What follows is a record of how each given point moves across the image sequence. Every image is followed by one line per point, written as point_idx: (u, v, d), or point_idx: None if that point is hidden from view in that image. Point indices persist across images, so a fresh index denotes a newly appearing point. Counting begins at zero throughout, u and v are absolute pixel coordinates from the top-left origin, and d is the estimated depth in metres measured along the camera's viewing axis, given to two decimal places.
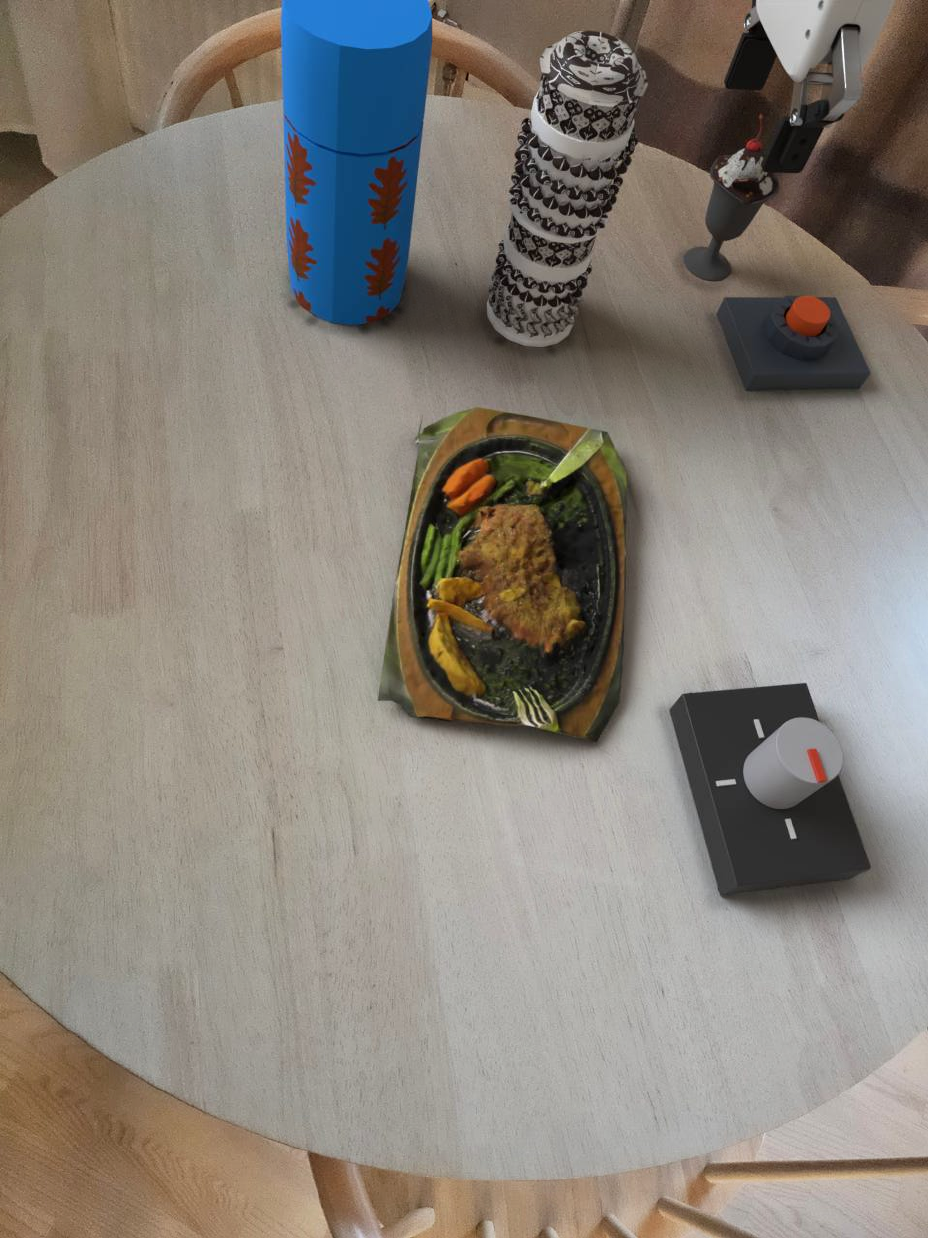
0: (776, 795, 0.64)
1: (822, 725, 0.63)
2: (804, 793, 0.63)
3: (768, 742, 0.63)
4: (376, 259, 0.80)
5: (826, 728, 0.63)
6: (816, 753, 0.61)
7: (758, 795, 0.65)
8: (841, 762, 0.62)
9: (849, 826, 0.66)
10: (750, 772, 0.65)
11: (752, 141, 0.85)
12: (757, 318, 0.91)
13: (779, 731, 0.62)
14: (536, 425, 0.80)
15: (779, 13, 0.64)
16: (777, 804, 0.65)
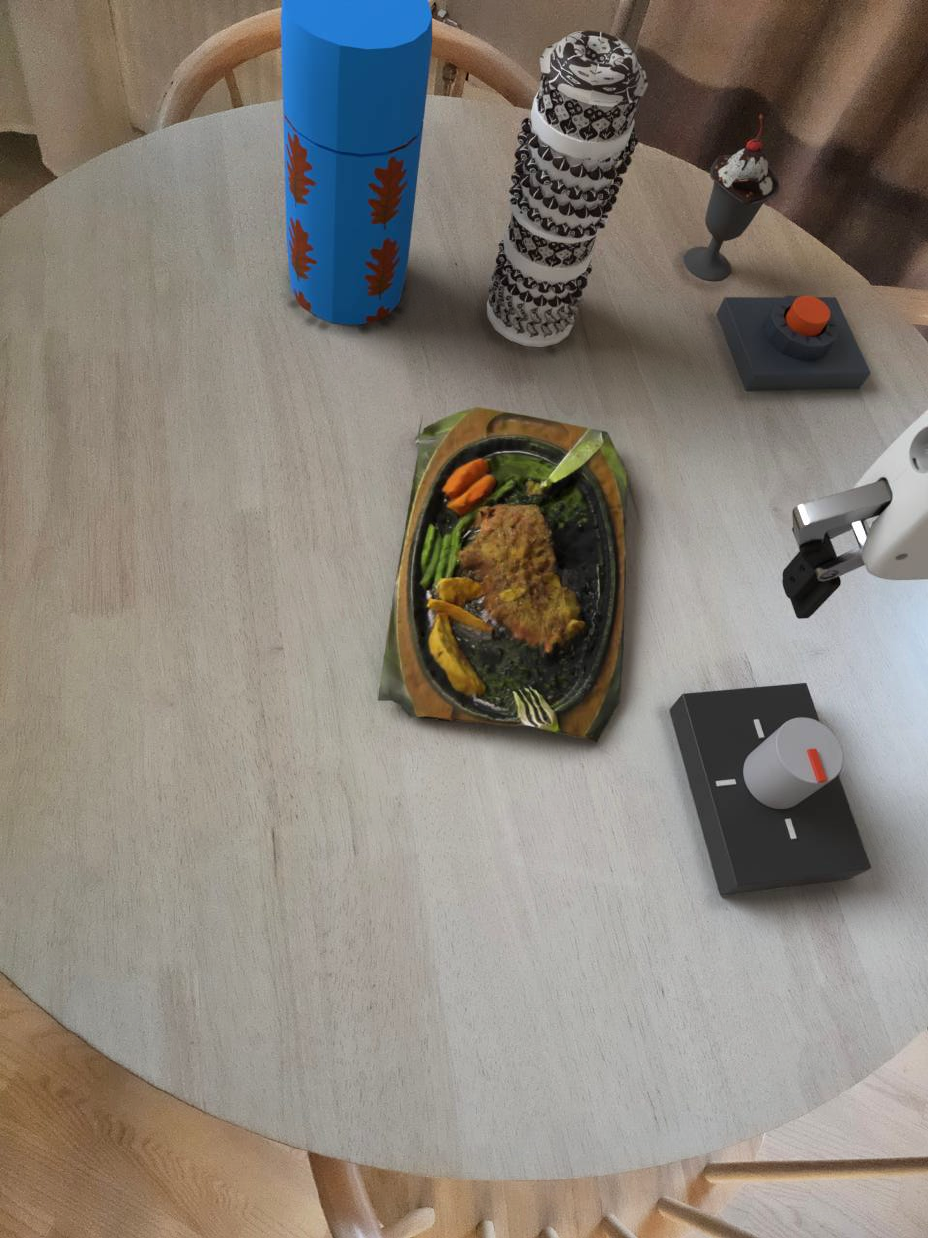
0: (776, 795, 0.64)
1: (822, 725, 0.63)
2: (804, 793, 0.63)
3: (768, 742, 0.63)
4: (376, 259, 0.80)
5: (826, 728, 0.63)
6: (816, 753, 0.61)
7: (758, 795, 0.65)
8: (841, 762, 0.62)
9: (849, 826, 0.66)
10: (750, 772, 0.65)
11: (752, 141, 0.85)
12: (757, 318, 0.91)
13: (779, 731, 0.62)
14: (536, 425, 0.80)
15: None
16: (777, 804, 0.65)
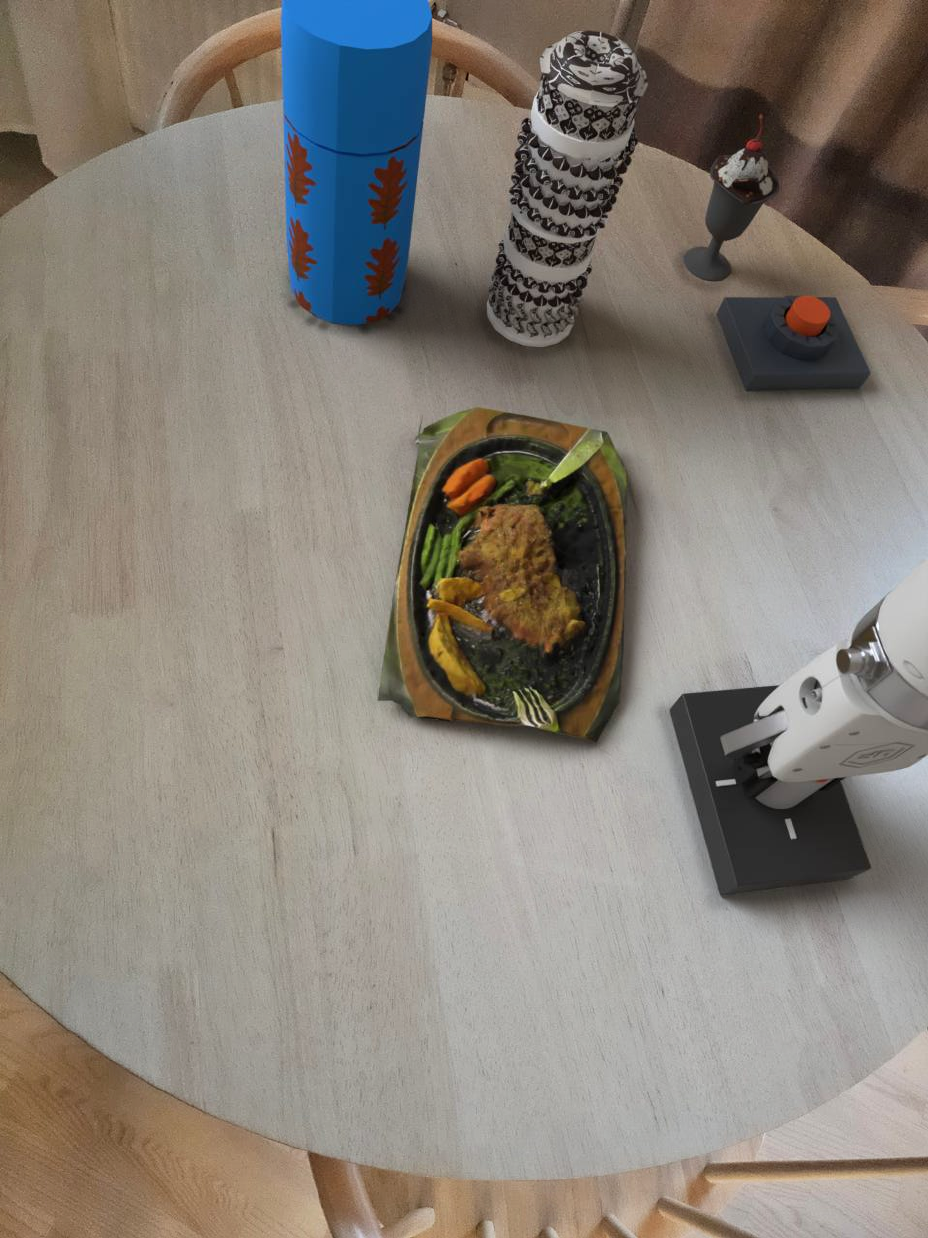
0: (776, 795, 0.64)
1: None
2: (804, 793, 0.63)
3: None
4: (376, 259, 0.80)
5: None
6: None
7: (758, 795, 0.65)
8: None
9: (849, 826, 0.66)
10: None
11: (752, 141, 0.85)
12: (757, 318, 0.91)
13: None
14: (536, 425, 0.80)
15: None
16: (777, 804, 0.65)
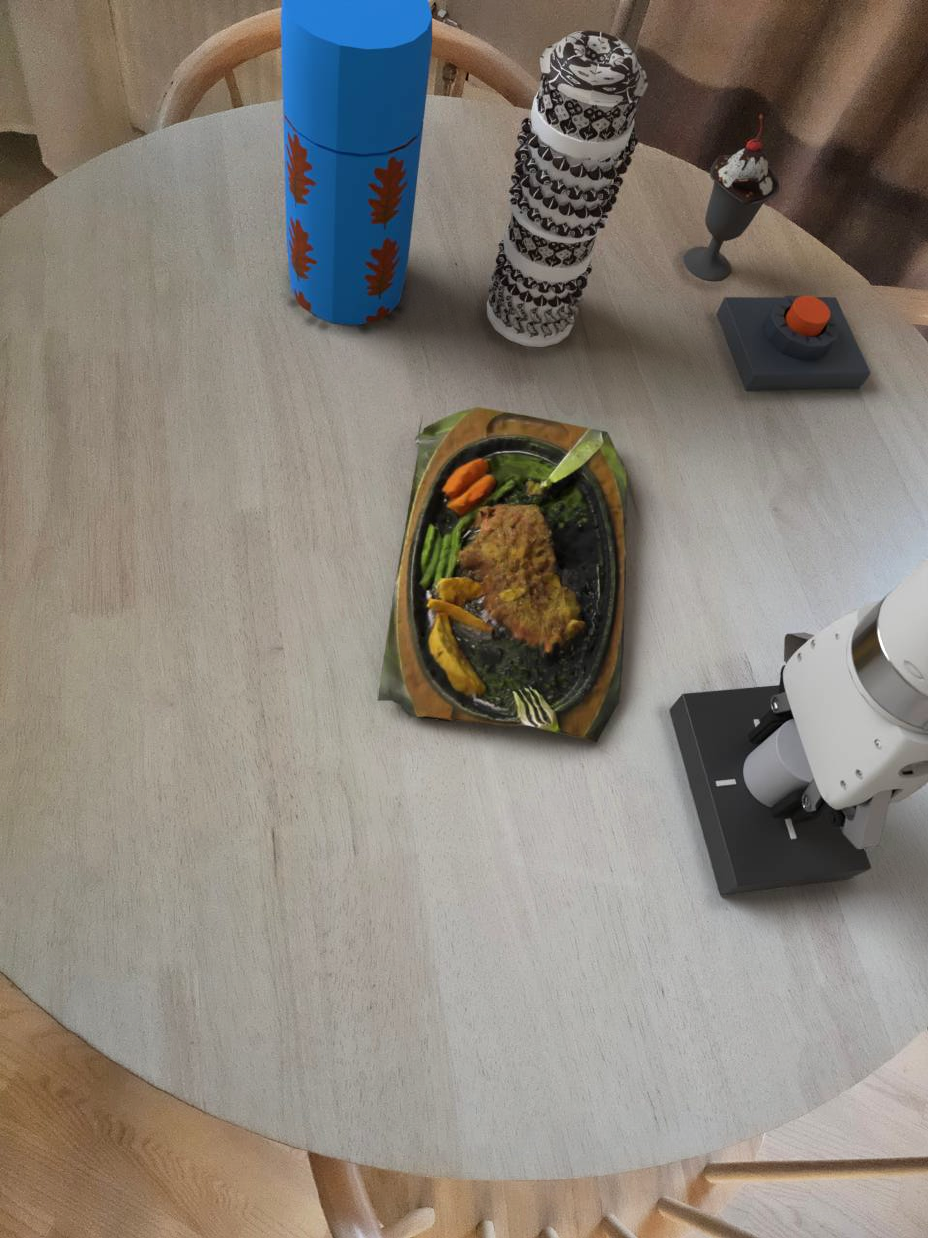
0: None
1: (781, 731, 0.62)
2: None
3: (792, 786, 0.62)
4: (376, 259, 0.80)
5: (783, 727, 0.62)
6: None
7: None
8: None
9: None
10: None
11: (752, 141, 0.85)
12: (757, 318, 0.91)
13: (798, 776, 0.61)
14: (536, 425, 0.80)
15: (810, 726, 0.58)
16: None
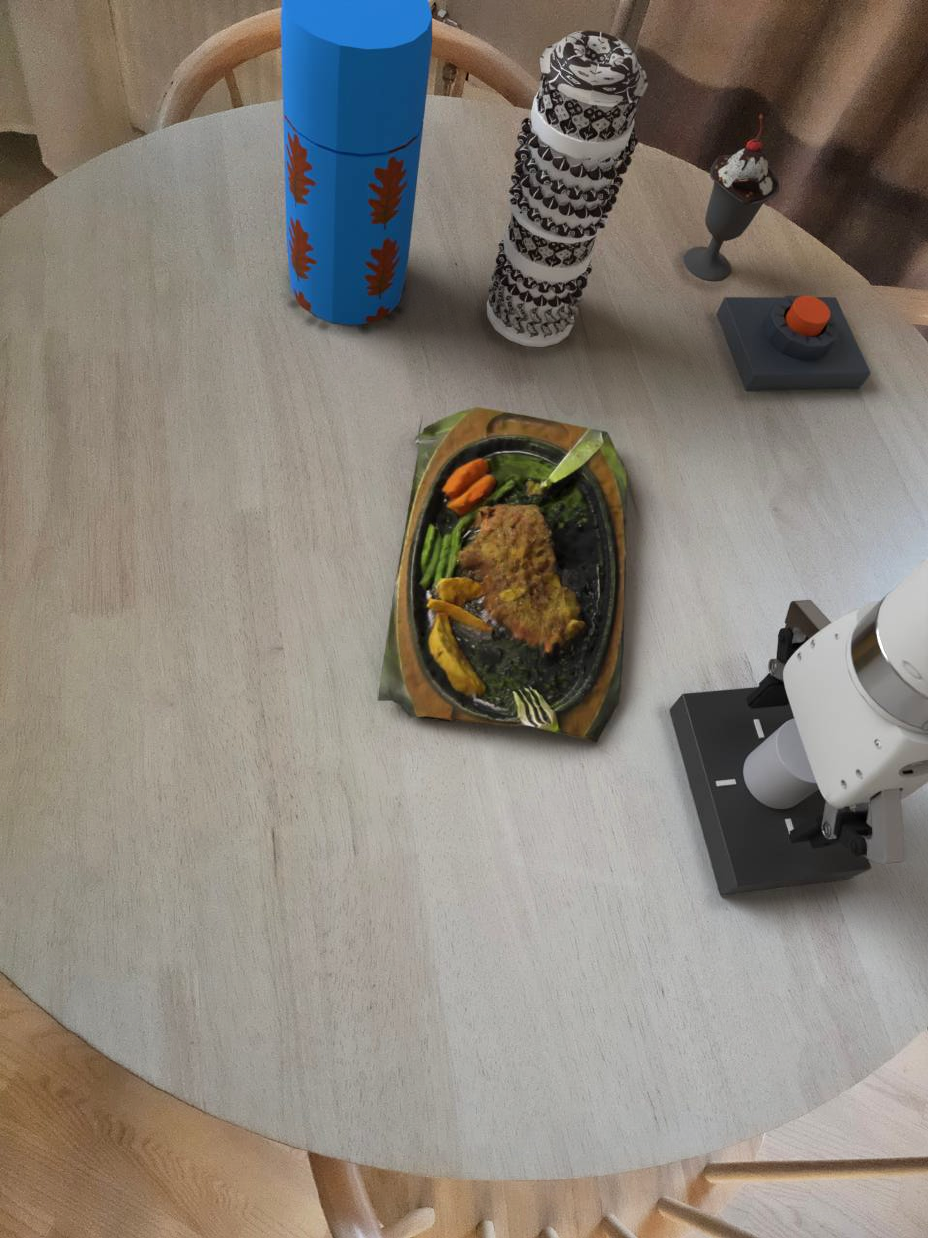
0: None
1: (780, 732, 0.62)
2: None
3: (794, 787, 0.62)
4: (376, 259, 0.80)
5: (783, 728, 0.62)
6: None
7: None
8: None
9: None
10: (790, 803, 0.65)
11: (752, 141, 0.85)
12: (757, 318, 0.91)
13: (799, 777, 0.61)
14: (536, 425, 0.80)
15: (810, 725, 0.58)
16: None
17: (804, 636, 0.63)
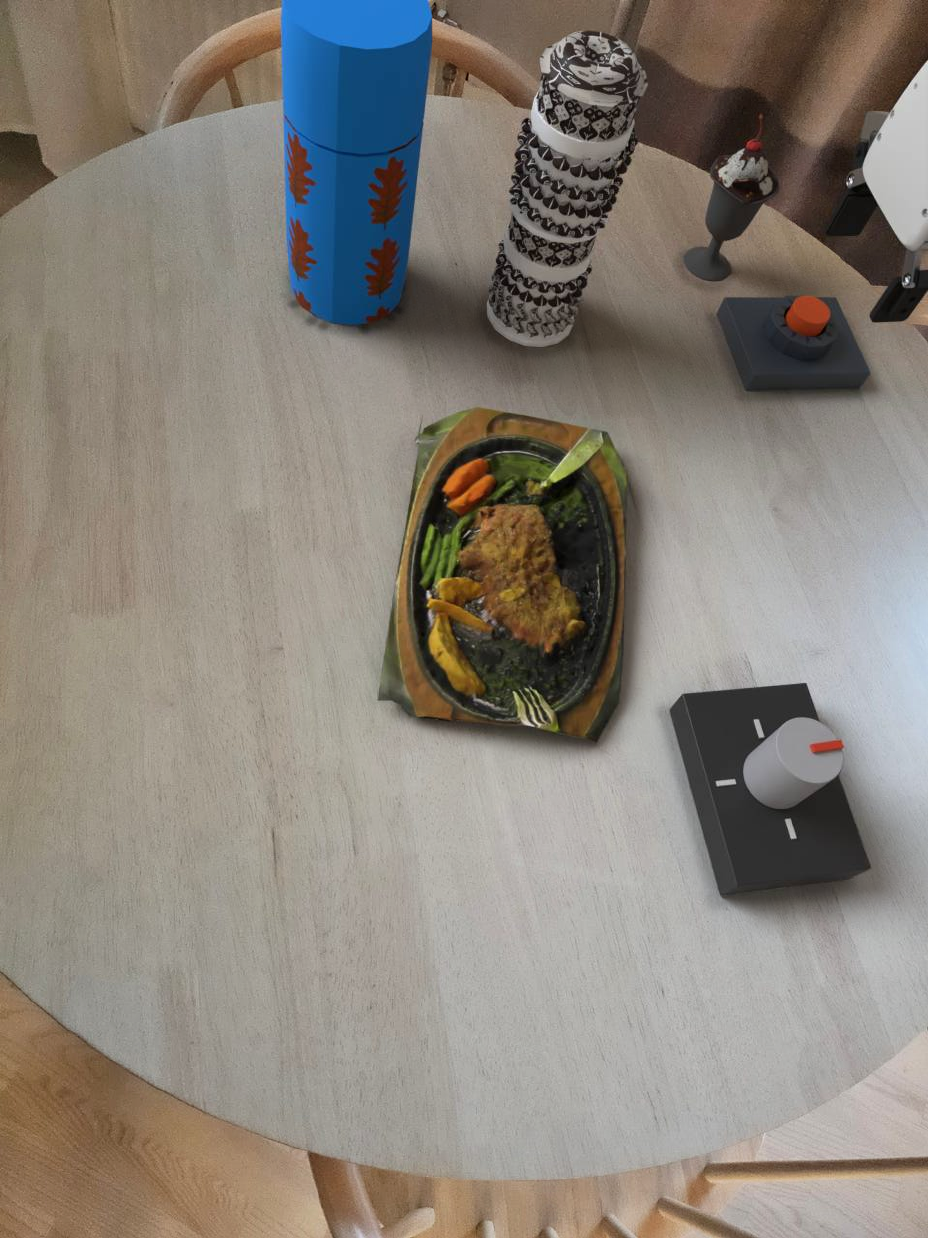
0: None
1: (780, 732, 0.62)
2: None
3: (794, 787, 0.62)
4: (376, 259, 0.80)
5: (783, 728, 0.62)
6: (816, 744, 0.62)
7: None
8: (814, 721, 0.63)
9: (849, 826, 0.66)
10: (790, 803, 0.65)
11: (752, 141, 0.85)
12: (757, 318, 0.91)
13: (799, 777, 0.61)
14: (536, 425, 0.80)
15: (891, 186, 0.69)
16: None
17: None
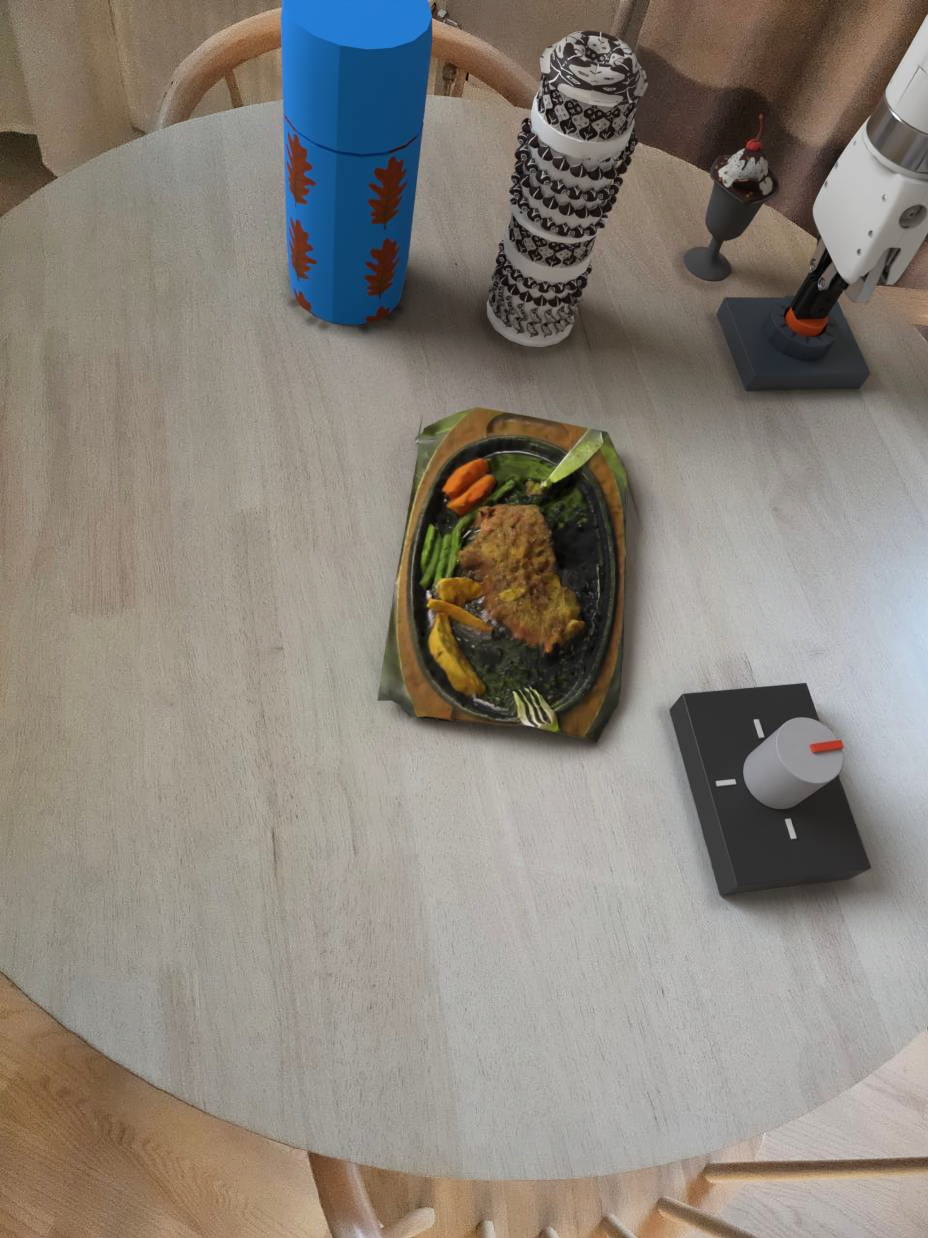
0: None
1: (780, 732, 0.62)
2: None
3: (794, 787, 0.62)
4: (376, 259, 0.80)
5: (783, 728, 0.62)
6: (816, 744, 0.62)
7: None
8: (814, 721, 0.63)
9: (849, 826, 0.66)
10: (790, 803, 0.65)
11: (752, 141, 0.85)
12: (757, 318, 0.91)
13: (799, 777, 0.61)
14: (536, 425, 0.80)
15: (834, 227, 0.80)
16: None
17: None
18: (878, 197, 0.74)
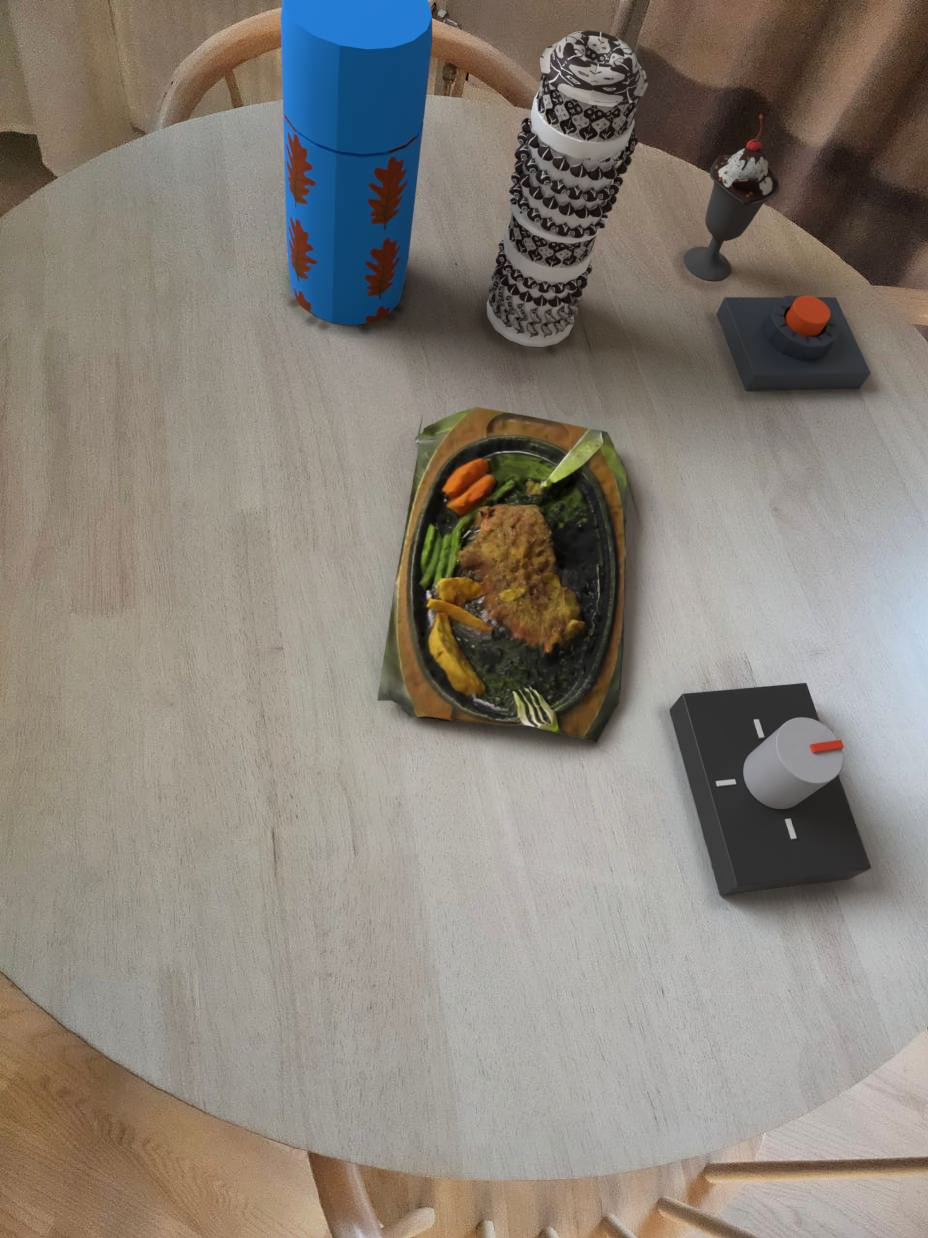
0: None
1: (780, 732, 0.62)
2: None
3: (794, 787, 0.62)
4: (376, 259, 0.80)
5: (783, 728, 0.62)
6: (816, 744, 0.62)
7: None
8: (814, 721, 0.63)
9: (849, 826, 0.66)
10: (790, 803, 0.65)
11: (752, 141, 0.85)
12: (757, 318, 0.91)
13: (799, 777, 0.61)
14: (536, 425, 0.80)
15: None
16: None
17: None
18: None
